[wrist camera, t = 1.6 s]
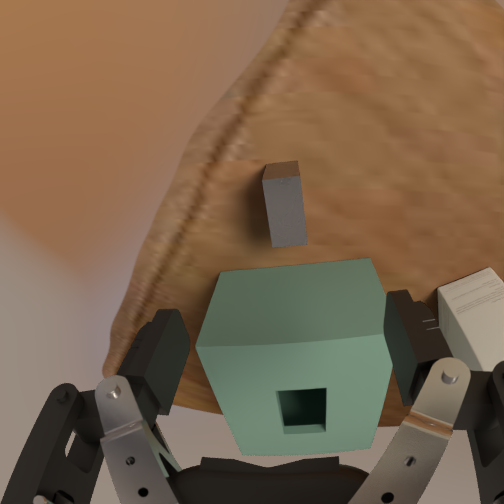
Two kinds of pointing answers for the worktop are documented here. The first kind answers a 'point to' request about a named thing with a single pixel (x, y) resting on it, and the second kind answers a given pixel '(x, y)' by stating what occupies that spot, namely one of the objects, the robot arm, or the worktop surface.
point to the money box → (298, 356)
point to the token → (284, 204)
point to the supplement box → (474, 319)
